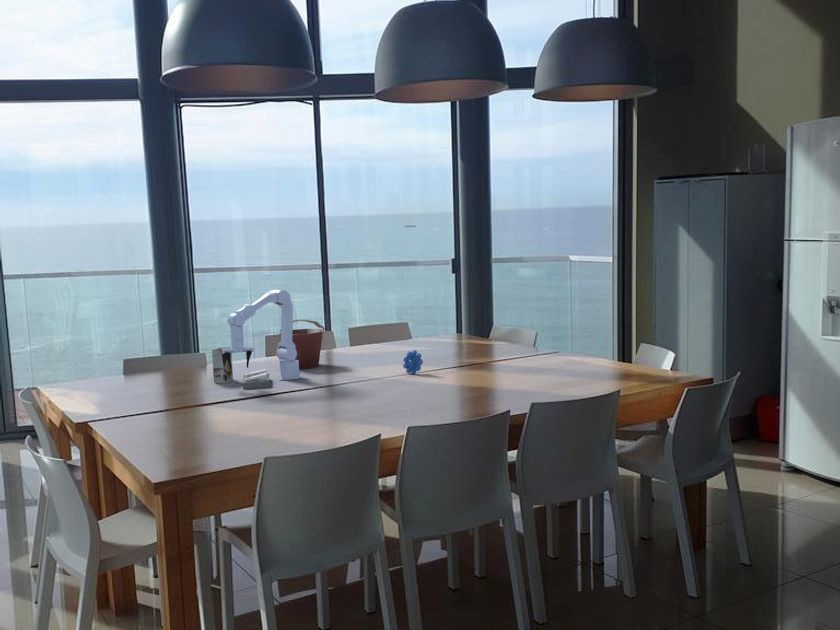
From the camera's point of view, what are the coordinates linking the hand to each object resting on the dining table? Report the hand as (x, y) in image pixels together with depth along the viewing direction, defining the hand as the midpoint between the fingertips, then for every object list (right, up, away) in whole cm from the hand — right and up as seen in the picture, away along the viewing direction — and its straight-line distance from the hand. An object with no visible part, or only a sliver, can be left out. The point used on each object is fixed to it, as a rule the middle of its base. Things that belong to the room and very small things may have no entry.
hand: (239, 367), depth 390 cm
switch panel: (+7, -8, +8) cm, 13 cm away
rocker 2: (+8, -5, +2) cm, 9 cm away
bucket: (+23, -3, +50) cm, 56 cm away
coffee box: (-11, -8, +18) cm, 23 cm away
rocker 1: (+6, -4, +12) cm, 14 cm away
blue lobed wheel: (+82, -4, +19) cm, 84 cm away
